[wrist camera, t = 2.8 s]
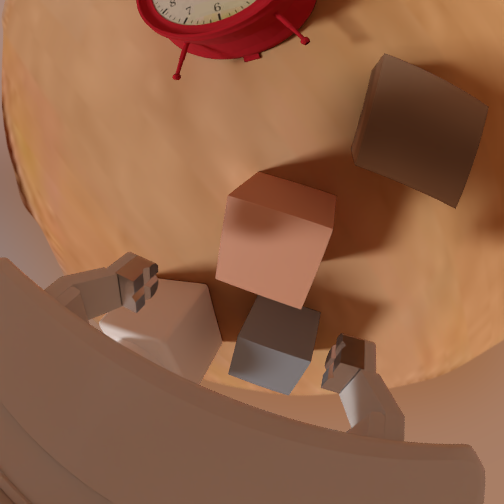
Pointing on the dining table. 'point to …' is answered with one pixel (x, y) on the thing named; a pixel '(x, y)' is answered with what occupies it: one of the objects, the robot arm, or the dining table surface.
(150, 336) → the medicine bottle
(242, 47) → the alarm clock
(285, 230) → the terracotta block
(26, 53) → the dining table surface
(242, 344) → the slate-grey block
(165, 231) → the dining table surface
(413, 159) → the walnut block
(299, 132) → the dining table surface
